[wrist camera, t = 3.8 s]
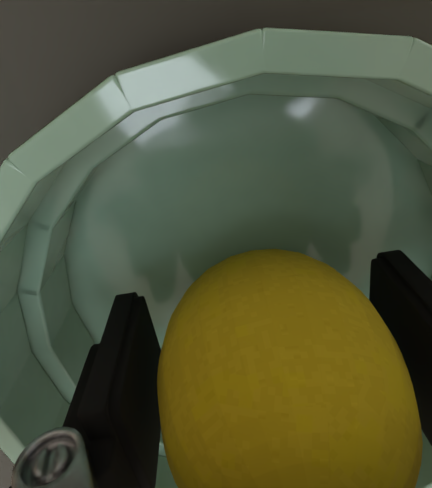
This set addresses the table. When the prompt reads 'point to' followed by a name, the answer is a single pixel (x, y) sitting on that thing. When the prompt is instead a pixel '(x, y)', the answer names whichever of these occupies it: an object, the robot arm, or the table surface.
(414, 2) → the table surface
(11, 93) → the table surface
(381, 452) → the lemon
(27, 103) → the table surface
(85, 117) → the fruit bowl
